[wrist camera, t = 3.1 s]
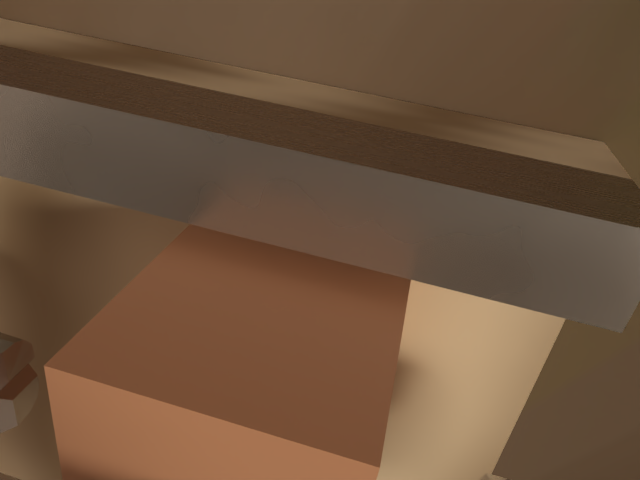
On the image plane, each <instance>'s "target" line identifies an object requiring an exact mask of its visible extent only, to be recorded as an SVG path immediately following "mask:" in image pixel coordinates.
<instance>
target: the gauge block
mask: <svg viewBox="0 0 640 480" xmlns="http://www.w3.org/2000/svg"><path fill="white" fill-rule="evenodd" d="M410 283H411V280H410V279H406V278H402V277H398V276H394V275H390V274H386V273H382V272H378V271H374V270H370V269H366V268H362V267H359V266H355V265H351V264H347V263H343V262H339V261H335V260H331V259H327V258H323V257H319V256H315V255H311V254H307V253H303V252H299V251H295V250H291V249H287V248H283V247H279V246H275V245H271V244H267V243H263V242H259V241H255V240H251V239H248V238H244V237H240V236H236V235H232V234H228V233H224V232H220V231H216V230H212V229H208V228H204V227H200V226H196V225H192V224H190V225H189V226H188V227H187V228H185V229H184V230H183V231H182V232H181V233H180V234H179V235H178V236H177V237H176V238H175V239H174V240H173V241H172V242H171V243H170V244H169V245H168V246H167V247H166V248H165V249H164V250H163V251H162V252H161V253H160V254H159V255H158V256H157V257H156V258H154V259H153V260H152V261H151V262H150V263H149V264H148V265H147V266H146V267H145V268H144V269H143V270H142V271H141V272H140V273H139V274H138V275H137V276H136V277H135V278H134V279H133V280H132V281H131V282H130V283H129V284H128V285H127V286H126V287H125V288H123V289H122V290H121V291H120V292H119V293H118V294H117V295H116V296H115V297H114V298H113V299H112V300H111V301H110V302H109V303H108V304H107V305H106V306H105V307H104V308H103V309H102V310H101V311H100V312H99V313H98V314H97V315H96V316H95V317H93V318H92V319H91V320H90V321H89V322H88V323H87V324H86V325H85V326H84V327H83V328H82V329H81V330H80V331H79V332H78V333H77V334H76V335H75V336H74V337H73V338H72V339H71V340H70V341H69V342H68V343H67V344H66V345H65V346H64V347H62V348H61V349H60V350H59V351H58V352H57V353H56V354H55V355H54V356H53V357H52V358H51V359H50V360H49V361H48V362H47V363H46V364H45V365H44V370H45V376H46V382H47V388H48V394H49V400H50V406H51V413H52V419H53V425H54V431H55V437H56V443H57V449H58V455H59V461H60V467H61V473H62V480H376V479H377V476H378V472H379V469H380V464H381V458H382V452H383V446H384V440H385V434H386V428H387V422H388V416H389V410H390V404H391V398H392V392H393V386H394V380H395V374H396V367H397V361H398V355H399V349H400V343H401V337H402V331H403V325H404V319H405V313H406V307H407V301H408V295H409V289H410Z"/></svg>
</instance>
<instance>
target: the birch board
mask: <svg viewBox="0 0 640 480" xmlns="http://www.w3.org/2000/svg"><path fill="white" fill-rule="evenodd" d="M0 45H4V46H8V47H13V48H18V49H22V50H27V51H32V52H36V53H41V54H46V55H51V56H55V57H60V58H65V59H69V60H74V61H79V62H83V63H88V64H93V65H97V66H102V67H107V68H112V69H116V70H121V71H126V72H130V73H135V74H140V75H144V76H149V77H154V78H158V79H163V80H168V81H172V82H177V83H182V84H187V85H191V86H196V87H201V88H205V89H210V90H215V91H219V92H224V93H229V94H233V95H238V96H243V97H247V98H252V99H257V100H262V101H266V102H271V103H276V104H280V105H285V106H290V107H294V108H299V109H304V110H308V111H313V112H318V113H322V114H327V115H332V116H337V117H341V118H346V119H351V120H355V121H360V122H365V123H369V124H374V125H379V126H383V127H388V128H393V129H397V130H402V131H407V132H412V133H416V134H421V135H426V136H430V137H435V138H440V139H444V140H449V141H454V142H458V143H463V144H468V145H473V146H477V147H482V148H487V149H491V150H496V151H501V152H505V153H510V154H515V155H519V156H524V157H529V158H533V159H538V160H543V161H548V162H552V163H557V164H562V165H566V166H571V167H576V168H580V169H585V170H590V171H594V172H599V173H604V174H608V175H613V176H618V177H623V178H627V179H632V178H631V177H630V176H629V174H628V173H627V172H626V171H625V169H624V168H623V167H622V165H621V164H620V163H619V161H618V160H617V159H616V157H615V156H614V155H613V153H612V152H611V151H610V150H609V148H608V147H607V146H606V144H605V143H604V142H601V141H596V140H591V139H586V138H581V137H576V136H572V135H567V134H562V133H557V132H552V131H547V130H542V129H537V128H533V127H528V126H523V125H518V124H513V123H508V122H503V121H498V120H494V119H489V118H484V117H479V116H474V115H469V114H464V113H460V112H455V111H450V110H445V109H440V108H435V107H430V106H425V105H421V104H416V103H411V102H406V101H401V100H396V99H391V98H386V97H382V96H377V95H372V94H367V93H362V92H357V91H352V90H348V89H343V88H338V87H333V86H328V85H323V84H318V83H313V82H309V81H304V80H299V79H294V78H289V77H284V76H279V75H275V74H270V73H265V72H260V71H255V70H250V69H245V68H240V67H236V66H231V65H226V64H221V63H216V62H211V61H206V60H201V59H197V58H192V57H187V56H182V55H177V54H172V53H167V52H163V51H158V50H153V49H148V48H143V47H138V46H133V45H128V44H124V43H119V42H114V41H109V40H104V39H99V38H94V37H90V36H85V35H80V34H75V33H70V32H65V31H60V30H55V29H51V28H46V27H41V26H36V25H31V24H26V23H21V22H16V21H12V20H7V19H2V18H0ZM189 225H190V224H188V223H184V222H180V221H176V220H172V219H168V218H164V217H160V216H156V215H152V214H148V213H144V212H140V211H137V210H133V209H129V208H125V207H121V206H117V205H113V204H109V203H105V202H101V201H97V200H93V199H89V198H85V197H81V196H77V195H73V194H69V193H65V192H61V191H57V190H53V189H49V188H45V187H41V186H37V185H33V184H30V183H26V182H22V181H18V180H14V179H10V178H6V177H2V176H0V332H1V333H4V334H7V335H10V336H13V337H17V338H20V339H23V340H25V341H28V342H30V343H32V347H33V351H34V355H35V357H34V359H33V360H32V361H31V362H30V363H29V365H30V366H31V367H32V368H33V370H34V371H35V372H36V373H37V375H38V379H39V391H38V397H37V399H36V401H35V403H34V405H33V407H32V409H31V411H30V413H29V414H28V415H27V416H26V417H25V418H24V419H23V420H22V422H21V423H20V424H19V425H18V426H16V427H14V428H11V429H9V430H7V431H4V432H2V433H0V473H3V474H6V475H9V476H12V477H15V478H18V479H21V480H62V473H61V467H60V461H59V455H58V449H57V443H56V437H55V431H54V425H53V419H52V413H51V406H50V400H49V394H48V388H47V382H46V376H45V370H44V365H45V364H46V363H47V362H48V361H49V360H50V359H51V358H52V357H53V356H54V355H55V354H56V353H57V352H58V351H59V350H60V349H61V348H62V347H64V346H65V345H66V344H67V343H68V342H69V341H70V340H71V339H72V338H73V337H74V336H75V335H76V334H77V333H78V332H79V331H80V330H81V329H82V328H83V327H84V326H85V325H86V324H87V323H88V322H89V321H90V320H91V319H92V318H93V317H95V316H96V315H97V314H98V313H99V312H100V311H101V310H102V309H103V308H104V307H105V306H106V305H107V304H108V303H109V302H110V301H111V300H112V299H113V298H114V297H115V296H116V295H117V294H118V293H119V292H120V291H121V290H122V289H123V288H125V287H126V286H127V285H128V284H129V283H130V282H131V281H132V280H133V279H134V278H135V277H136V276H137V275H138V274H139V273H140V272H141V271H142V270H143V269H144V268H145V267H146V266H147V265H148V264H149V263H150V262H151V261H152V260H153V259H154V258H156V257H157V256H158V255H159V254H160V253H161V252H162V251H163V250H164V249H165V248H166V247H167V246H168V245H169V244H170V243H171V242H172V241H173V240H174V239H175V238H176V237H177V236H178V235H179V234H180V233H181V232H182V231H183V230H184V229H185V228H187V227H188V226H189ZM564 321H565V318H561V317H557V316H553V315H549V314H545V313H541V312H537V311H533V310H529V309H525V308H521V307H517V306H513V305H509V304H505V303H501V302H497V301H493V300H489V299H485V298H481V297H477V296H473V295H470V294H466V293H462V292H458V291H454V290H450V289H446V288H442V287H438V286H434V285H430V284H426V283H422V282H418V281H414V280H411V283H410V289H409V295H408V301H407V307H406V313H405V319H404V325H403V331H402V337H401V343H400V349H399V355H398V361H397V367H396V374H395V380H394V386H393V392H392V398H391V404H390V410H389V416H388V422H387V428H386V434H385V440H384V446H383V452H382V458H381V464H380V469H379V472H378V476H377V479H376V480H480V479H481V477H482V476H483V475H484V474H485V473H488V474H491V473H492V471H493V469H494V467H495V465H496V463H497V461H498V459H499V457H500V455H501V453H502V451H503V448H504V446H505V444H506V442H507V440H508V438H509V436H510V434H511V432H512V430H513V428H514V426H515V423H516V421H517V419H518V417H519V415H520V413H521V411H522V409H523V407H524V405H525V403H526V400H527V398H528V396H529V394H530V392H531V390H532V388H533V386H534V384H535V382H536V380H537V378H538V375H539V373H540V371H541V369H542V367H543V365H544V363H545V361H546V359H547V357H548V355H549V353H550V350H551V348H552V346H553V344H554V342H555V340H556V338H557V336H558V334H559V332H560V330H561V327H562V325H563V323H564Z"/></svg>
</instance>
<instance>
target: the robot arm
mask: <svg viewBox="0 0 640 480" xmlns="http://www.w3.org/2000/svg"><path fill="white" fill-rule="evenodd" d="M34 357H35V355H34V351H33V347H32V343H30V342H28V341H25V340H23V339H20V338H17V337H13V336H10V335H7V334H4V333H1V332H0V433H2V432H4V431H7V430H9V429H11V428H14V427H16V426H18V425H19V424H20V423H21V422H22V420H23V419H24V418H25V417H26V416H27V415H28V414H29V413H30V411H31V409H32V407H33V405H34V403H35V401H36V399H37V397H38V391H39V379H38V375H37V373H36V372H35V371H34V370H33V368H32V367H31V366H30V365H29V363H30V362H31V361H32V360H33V359H34ZM480 480H509V479H506V478H502V477H499V476H495V475H491V474H488V473H485V474H484V475H483V476H482V477H481V479H480Z"/></svg>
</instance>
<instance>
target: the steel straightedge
mask: <svg viewBox="0 0 640 480" xmlns="http://www.w3.org/2000/svg"><path fill="white" fill-rule="evenodd" d="M0 176H2V177H6V178H10V179H14V180H18V181H22V182H26V183H30V184H33V185H37V186H41V187H45V188H49V189H53V190H57V191H61V192H65V193H69V194H73V195H77V196H81V197H85V198H89V199H93V200H97V201H101V202H105V203H109V204H113V205H117V206H121V207H125V208H129V209H133V210H137V211H140V212H144V213H148V214H152V215H156V216H160V217H164V218H168V219H172V220H176V221H180V222H184V223H188V224H192V225H196V226H200V227H204V228H208V229H212V230H216V231H220V232H224V233H228V234H232V235H236V236H240V237H244V238H248V239H251V240H255V241H259V242H263V243H267V244H271V245H275V246H279V247H283V248H287V249H291V250H295V251H299V252H303V253H307V254H311V255H315V256H319V257H323V258H327V259H331V260H335V261H339V262H343V263H347V264H351V265H355V266H359V267H362V268H366V269H370V270H374V271H378V272H382V273H386V274H390V275H394V276H398V277H402V278H406V279H410V280H414V281H418V282H422V283H426V284H430V285H434V286H438V287H442V288H446V289H450V290H454V291H458V292H462V293H466V294H470V295H473V296H477V297H481V298H485V299H489V300H493V301H497V302H501V303H505V304H509V305H513V306H517V307H521V308H525V309H529V310H533V311H537V312H541V313H545V314H549V315H553V316H557V317H561V318H565V319H569V320H573V321H577V322H580V323H584V324H588V325H592V326H596V327H600V328H604V329H608V330H612V331H616V332H620V333H622V332H623V330H624V328H625V326H626V325H627V323H628V321H629V319H630V317H631V316H632V314H633V312H634V310H635V308H636V307H637V305H638V303H639V301H640V189H639V188H638V186H637V185H636V184H635V182H634V181H633V180H632V179H627V178H623V177H618V176H613V175H608V174H604V173H599V172H594V171H590V170H585V169H580V168H576V167H571V166H566V165H562V164H557V163H552V162H548V161H543V160H538V159H533V158H529V157H524V156H519V155H515V154H510V153H505V152H501V151H496V150H491V149H487V148H482V147H477V146H473V145H468V144H463V143H458V142H454V141H449V140H444V139H440V138H435V137H430V136H426V135H421V134H416V133H412V132H407V131H402V130H397V129H393V128H388V127H383V126H379V125H374V124H369V123H365V122H360V121H355V120H351V119H346V118H341V117H337V116H332V115H327V114H322V113H318V112H313V111H308V110H304V109H299V108H294V107H290V106H285V105H280V104H276V103H271V102H266V101H262V100H257V99H252V98H247V97H243V96H238V95H233V94H229V93H224V92H219V91H215V90H210V89H205V88H201V87H196V86H191V85H187V84H182V83H177V82H172V81H168V80H163V79H158V78H154V77H149V76H144V75H140V74H135V73H130V72H126V71H121V70H116V69H112V68H107V67H102V66H97V65H93V64H88V63H83V62H79V61H74V60H69V59H65V58H60V57H55V56H51V55H46V54H41V53H36V52H32V51H27V50H22V49H18V48H13V47H8V46H4V45H0Z"/></svg>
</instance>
